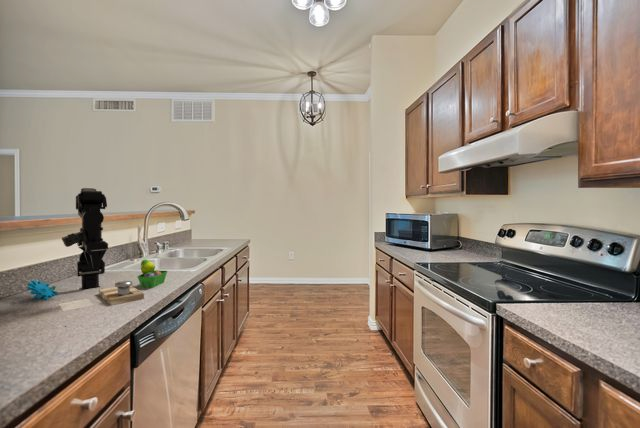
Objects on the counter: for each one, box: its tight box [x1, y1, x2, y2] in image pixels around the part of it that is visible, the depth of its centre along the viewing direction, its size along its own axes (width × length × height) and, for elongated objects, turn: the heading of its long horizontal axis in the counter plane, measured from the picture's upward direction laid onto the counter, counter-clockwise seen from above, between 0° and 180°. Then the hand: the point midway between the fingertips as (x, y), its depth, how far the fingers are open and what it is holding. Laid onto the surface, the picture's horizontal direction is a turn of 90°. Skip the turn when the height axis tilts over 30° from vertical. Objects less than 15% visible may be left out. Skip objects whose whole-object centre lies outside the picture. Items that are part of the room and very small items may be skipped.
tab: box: [58, 298, 94, 312], centre depth 102 cm, size 10×8×1 cm
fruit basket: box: [136, 259, 168, 288], centre depth 132 cm, size 11×9×11 cm
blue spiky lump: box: [26, 279, 59, 301], centre depth 110 cm, size 11×6×10 cm
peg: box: [114, 280, 133, 297], centre depth 109 cm, size 5×5×7 cm
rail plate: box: [98, 285, 145, 306], centre depth 112 cm, size 18×10×3 cm, turn 47°
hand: (92, 266), depth 112 cm, fingers open, 9 cm apart
